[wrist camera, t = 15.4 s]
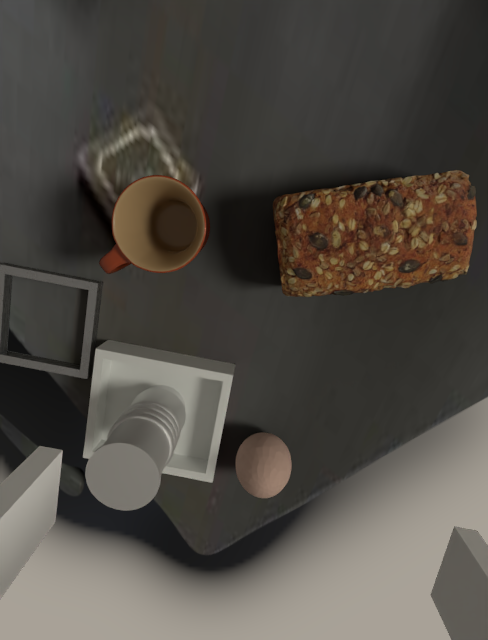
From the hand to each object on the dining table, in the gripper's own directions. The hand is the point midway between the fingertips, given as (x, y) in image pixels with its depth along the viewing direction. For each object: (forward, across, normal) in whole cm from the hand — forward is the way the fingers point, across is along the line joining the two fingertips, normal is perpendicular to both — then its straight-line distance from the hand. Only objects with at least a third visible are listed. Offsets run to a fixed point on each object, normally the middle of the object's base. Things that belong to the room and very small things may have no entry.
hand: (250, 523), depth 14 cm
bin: (+37, -10, -14) cm, 40 cm away
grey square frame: (+37, -25, -6) cm, 45 cm away
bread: (+37, +9, +11) cm, 40 cm away
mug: (+37, -12, +7) cm, 39 cm away
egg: (+37, +4, -17) cm, 41 cm away
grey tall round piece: (+36, -10, -14) cm, 40 cm away
